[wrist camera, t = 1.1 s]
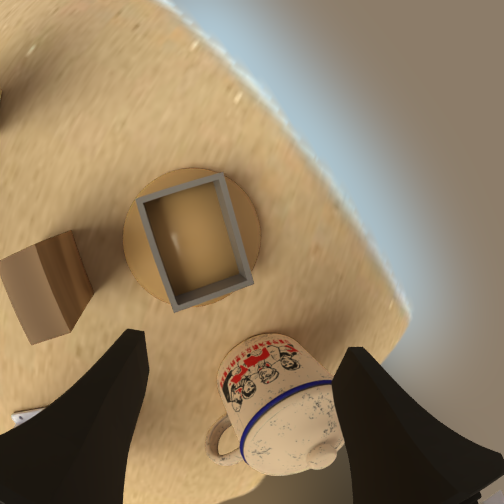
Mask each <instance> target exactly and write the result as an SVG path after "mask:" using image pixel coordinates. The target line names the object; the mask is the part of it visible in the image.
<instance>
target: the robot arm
mask: <svg viewBox="0 0 504 504" xmlns="http://www.w3.org/2000/svg"><path fill="white" fill-rule="evenodd" d="M148 375H149V363H148V356H147V349H146V341H145V333H144V331H139V330H133V329H127V330H125V331H124V332H123V334H122V335H121V336H120V337H119V338H118V339H117V340H116V342H115V343H114V344H113V345H112V346H111V347H110V348H109V349H108V350H107V352H106V353H105V354H104V355H103V356H102V357H101V358H100V359H99V360H98V361H97V362H96V363H95V364H94V365H93V366H92V367H91V369H90V370H89V371H88V372H87V373H86V374H84V375H83V376H82V377H81V378H80V379H79V380H78V381H77V382H76V383H75V384H74V385H73V386H72V387H71V388H70V389H68V390H67V391H66V392H65V393H64V394H63V395H62V396H60V397H59V398H58V399H57V400H55V401H54V402H53V403H52V404H50V405H49V406H48V407H45V408H40V409H34V410H29V411H23V412H17V413H12V415H11V418H12V419H13V421H14V422H15V423H16V424H15V426H14V428H13V429H11V430H9V431H8V432H6V433H4V434H1V435H0V504H123V491H124V481H125V472H126V465H127V458H128V452H129V448H130V443H131V440H132V436H133V433H134V429H135V426H136V423H137V419H138V416H139V413H140V409H141V406H142V403H143V399H144V396H145V391H146V386H147V381H148ZM331 385H332V393H333V400H334V406H335V410H336V413H337V417H338V421H339V424H340V428H341V431H342V435H343V438H344V442H345V446H346V449H347V453H348V458H349V463H350V470H351V478H352V489H353V504H478V501H477V500H478V499H480V498H481V493H480V491H481V490H482V489H484V488H485V487H487V486H488V485H490V484H491V483H493V482H494V481H496V480H497V479H498V478H500V477H501V476H503V475H504V459H503V457H502V455H501V454H500V453H498V452H495V451H492V450H490V449H487V448H485V447H482V446H480V445H478V444H476V443H474V442H472V441H470V440H468V439H466V438H464V437H463V436H461V435H459V434H458V433H456V432H454V431H453V430H451V429H450V428H448V427H447V426H445V425H444V424H443V423H441V422H440V421H438V420H437V419H436V418H434V417H433V416H432V415H431V414H429V413H428V412H427V411H426V410H425V409H424V408H422V407H421V406H420V405H419V404H418V403H417V402H416V401H415V400H414V399H412V397H410V396H409V395H408V394H407V393H406V392H405V391H404V390H403V389H402V388H401V387H400V386H399V385H398V384H397V382H396V381H394V379H393V378H392V377H391V376H390V375H389V374H388V373H387V372H386V371H385V370H384V369H383V368H382V366H381V365H380V364H379V363H378V362H377V361H376V360H375V359H374V358H373V357H372V356H371V355H370V354H369V353H368V352H367V351H366V350H365V349H364V348H363V347H348V349H347V351H346V353H345V356H344V358H343V360H342V362H341V364H340V366H339V368H338V370H337V372H336V374H335V376H334V378H333V379H332V381H331ZM479 504H504V496H503V493H502V491H501V490H499V491H497V492H496V493H494V494H493V495H491V496H489V497H488V498H486V499H485V500H483V501H482V502H480V503H479Z"/></svg>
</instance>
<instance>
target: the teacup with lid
mask: <svg viewBox="0 0 504 504" xmlns="http://www.w3.org/2000/svg"><path fill="white" fill-rule="evenodd" d="M333 378H334V376H333V375H331V374H330V373H329V372H328V371H327V370H326V369H325V368H324V367H323V366H322V365H321V364H320V363H319V362H318V361H317V360H316V359H314V358H313V357H312V356H311V355H310V354H309V353H308V352H307V351H306V350H305V349H304V348H303V347H302V346H301V345H300V344H299V343H298V342H297V341H295V340H294V339H292V338H290V337H288V336H285V335H281V334H262V335H258V336H254V337H251V338H249V339H247V340H245V341H243V342H242V343H240V344H238V345H237V346H236V347H235V348H233V349H232V350H231V351H230V352H229V353H228V354H227V356H226V357H225V358H224V360H223V362H222V363H221V365H220V368H219V371H218V374H217V387H218V391H219V394H220V396H221V399H222V401H223V404H224V406H225V409H226V411H227V413H226V414H225V415H223V416H222V417H220V418H219V419H218V420H217V421H216V422H215V423H214V424H213V425H212V426H211V428H210V430H209V432H208V434H207V437H206V442H205V449H206V453H207V455H208V457H209V458H210V460H212V461H213V462H215V463H216V464H218V465H222V466H230V465H234V464H237V463H239V462H241V461H243V460H244V461H245V462H246V463H247V464H248V465H249V466H250V467H252V468H253V469H254V470H256V471H258V472H260V473H263V474H267V475H273V476H282V475H291V474H296V473H299V472H302V471H305V470H308V469H310V468H312V469H322V468H325V467H327V466H329V465H330V464H331V463H332V462H333V461H334V460H335V458H336V456H337V451H338V450H339V449H340V448H341V447H342V446H343V445H344V444H345V442H344V438H343V435H342V431H341V428H340V424H339V421H338V417H337V413H336V410H335V406H334V400H333V393H332V385H331V381H332V379H333ZM231 425H232V426H233V428H234V431H235V433H236V435H237V438H238V440H239V442H240V447H239V448H237V449H235V450H234V451H232V452H230V453H228V454H225V455H219V453H218V443H219V439H220V437H221V435H222V434H223V432H224V431H225V430H226V429H227V428H228V427H230V426H231Z"/></svg>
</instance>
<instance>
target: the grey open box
mask: <svg viewBox="0 0 504 504" xmlns="http://www.w3.org/2000/svg"><path fill="white" fill-rule="evenodd" d="M260 237H261V235H260V225H259V220H258V216H257V213H256V210H255V208H254V206H253V204H252V202H251V200H250V199H249V197H248V196H247V194H246V193H245V192H244V191H243V190H242V189H241V188H240V187H239V186H238V185H237V184H236V183H235V182H233V181H232V180H230V179H229V178H227V177H225V176H224V174H223V172H221V173H217V172H214V171H211V170H206V169H199V168H188V169H180V170H176V171H172V172H169V173H167V174H164V175H162V176H160V177H159V178H157V179H155V180H154V181H152V182H151V183H150V184H148V185H147V186H146V187H145V188H144V189H143V190H142V191H141V192H140V193H139V195H138V196H137V197H136V199H135V200H134V202H133V204H132V205H131V207H130V209H129V212H128V214H127V217H126V220H125V224H124V230H123V247H124V254H125V257H126V261H127V264H128V266H129V268H130V271H131V272H132V274H133V276H134V277H135V279H136V280H137V281H138V282H139V284H140V285H141V286H142V287H143V288H144V289H145V290H146V291H147V292H149V293H150V294H151V295H153V296H154V297H156V298H158V299H160V300H161V301H164V302H166V303H169V304H171V306H172V309H173V311H174V313H175V312H178V311H181V310H184V309H186V308H189V307H199V306H205V305H209V304H212V303H215V302H217V301H219V300H222V299H223V298H225V297H227V296H229V295H230V294H231V293H233V292H234V291H236V290H239V289H242V288H244V287H247V286H250V285H253V284H254V281H253V278H252V274H251V271H252V269H253V267H254V265H255V262H256V260H257V256H258V253H259V248H260Z"/></svg>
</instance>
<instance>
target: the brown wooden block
mask: <svg viewBox="0 0 504 504" xmlns="http://www.w3.org/2000/svg"><path fill="white" fill-rule="evenodd" d="M0 276H1V279H2V281H3V284H4V287H5V289H6V292H7V294H8V297H9V299H10V301H11V304H12V306H13V308H14V311H15V313H16V315H17V317H18V319H19V322H20V324H21V326H22V328H23V330H24V332H25V334H26V336H27V338H28V340H29V342H30V344H31V345H34V344H37V343H40V342H43V341H46V340H49V339H52V338H56V337H59V336H62V335H65V334H68V333H71V331H72V329H73V328H74V326H75V324H76V322H77V321H78V319H79V317H80V316H81V314H82V312H83V311H84V309H85V307H86V306H87V304H88V303H89V301H90V299H91V298H92V296H93V294H94V292H93V289H92V287H91V284H90V282H89V279H88V277H87V274H86V271H85V269H84V266H83V263H82V261H81V258H80V255H79V252H78V249H77V246H76V243H75V240H74V237H73V234H72V231H71V230H70V231H68V232H65V233H62V234H60V235H57V236H54V237H52V238H49V239H47V240H44V241H41V242H39V243H36V244H34V245H32V246H30V247H27V248H25V249H23V250H21V251H19V252H17V253H14V254H12V255H10V256H8V257H6V258H4V259H2V260H0Z"/></svg>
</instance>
